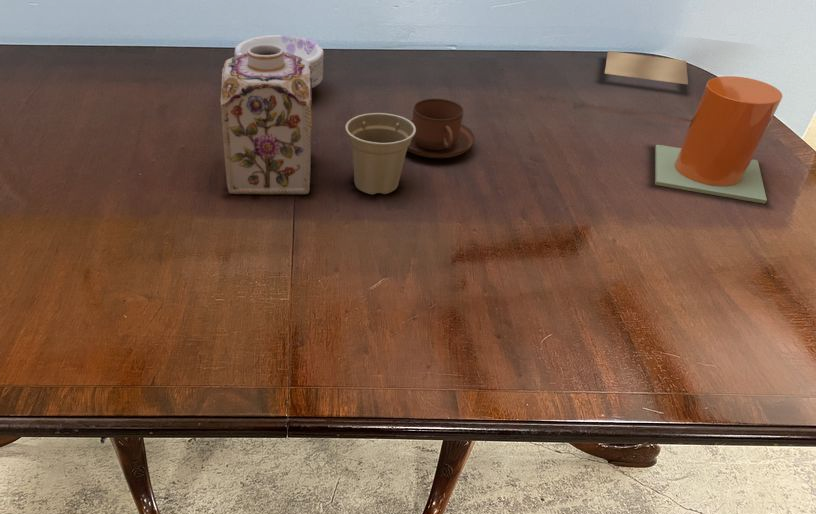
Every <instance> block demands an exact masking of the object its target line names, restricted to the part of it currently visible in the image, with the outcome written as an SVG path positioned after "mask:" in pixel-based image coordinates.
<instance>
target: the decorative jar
mask: <svg viewBox="0 0 816 514" xmlns="http://www.w3.org/2000/svg"><path fill="white" fill-rule="evenodd" d="M311 74H312V71H311V65H310V62H309V61H307V60H305V59H303V58H301V57H298V56H296V55H293V54H290V53H287V52H284V51H283V49H282V48H281V47H279V46H276V45H270V44H260V45H255V46H253V47H250V48H249V49H248V51H247V53H246V54H242V55H237V56H235V55H234V56H233V57H230V58H227V59H226V60H225V61H224V64H223V67H222V69H221V80H220V83H221V87H220V101H219V102H218V103H219V105H220V112H221V126H222V140H223V152H224V153H223V154H224V165H225V166H224V167H225V175H226V176H225V177H226V186H227V190H228V193H229V194H230V195H308V194H309V193H310V189H311V187H310V185H311V161H312V160H311V157H312V153H311V151H312V150H311V149H312V147H311V140H312V133H313V125H314V120H313V117H312V116H313V115H312V113H313V112H312V105H313V104H312V103H313V102H312V99H313V97H312V94H313V88H312V86H313V85H312V77H311Z"/></svg>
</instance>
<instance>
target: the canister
mask: <svg viewBox="0 0 816 514" xmlns="http://www.w3.org/2000/svg"><path fill="white" fill-rule="evenodd" d="M701 94H702V95H701V97H700V100H699V102H698V104H697V106H696V109H695V112H694V115H693V117H692V119H691V122H690V124H689V126H688V128H687V131H686V134H685V136H684V139H683V141H682V144H681V146H680V147H679V148H680V151H679V153H678V156H677V158H676V161H675V168H676V169H677V171H678V172H679V173H681V174H682V175H683V176H685V177H687V178H689V179H691V180H693V181H696V182H699V183H703V184H707V185H713V186H730V185H734V184H737V183H739V182H740V181H741V180H742V179H743V176H744V174H745V172H746V170H747V168H748V166H749V164H750V162H751V160H752V159H753V158H754V157H755V154H756V152H757V151H758V148H759V146H760V144H761V142H762V140H763V138H764V136H765V134H766V132H767V130H768V127H769V126H770V124H771V122H772V119H773V118H774V115H775V113H776V111H777V109H778V107H779V105H780V103H781V101H782V99H783V93H782V91H781V90H779V89H778V88H777V87H775V86H773V85H772V84H769V83H767V82H764V81H761V80H758V79H754V78H750V77H744V76H733V75H726V76H725V75H723V76H717V77H713V78H711V79H709V80H708V81H707V83H706V85H705V87H704V90H703V92H702V93H701Z"/></svg>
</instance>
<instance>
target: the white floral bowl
mask: <svg viewBox="0 0 816 514" xmlns="http://www.w3.org/2000/svg"><path fill="white" fill-rule="evenodd" d="M260 44H270V45H276V46H279V47H281V48H282V49H283V51H284V52H287V53H290V54H293V55H296V56H298V57H301V58H303V59H305V60H307V61H309V62H310V65H311V71H312V74H311V77H312V85H313V86H312V89H313V88H316V87H317V86H318V85H320V84H321V83H322V81H323V79H324V53H325V52H324V49H323V47H322V46H321V45H320V44H319V43H318V42H316V41H314V40H311V39H309V38H306V37H302V36H297V35H291V34H290V35H288V34H287V35H286V34H270V35H269V34H268V35H261V36H255V37H250V38H247V39H245V40H242V41H241V42H239V43H238V44H237V45H236V47H235V48H234V52H233V53H234V57H235V56H237V55H242V54H246V53H247V51H248V49H249V48H250V47H253V46H255V45H260Z"/></svg>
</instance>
